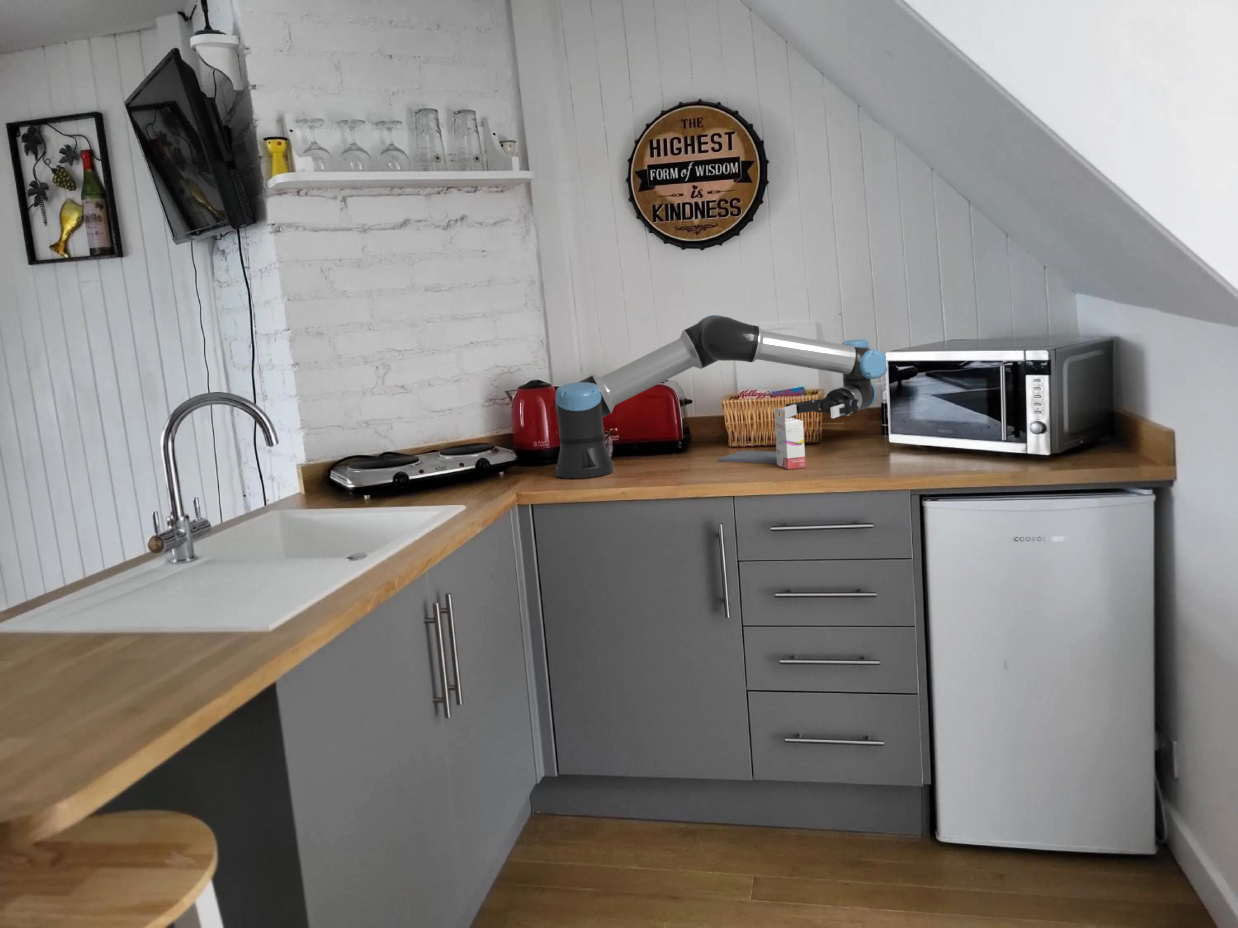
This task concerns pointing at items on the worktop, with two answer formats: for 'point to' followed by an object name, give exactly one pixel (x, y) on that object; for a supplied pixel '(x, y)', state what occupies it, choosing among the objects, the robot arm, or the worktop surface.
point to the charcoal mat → (751, 457)
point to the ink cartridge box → (789, 441)
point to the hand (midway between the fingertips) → (807, 413)
